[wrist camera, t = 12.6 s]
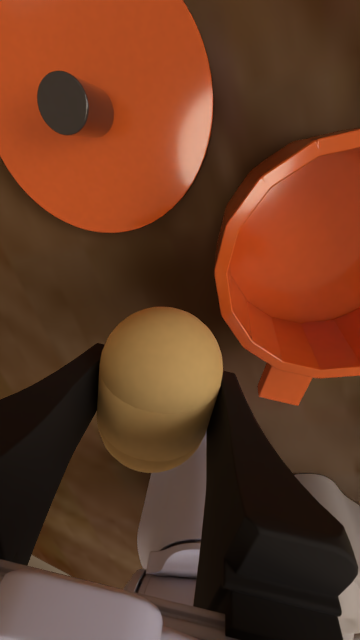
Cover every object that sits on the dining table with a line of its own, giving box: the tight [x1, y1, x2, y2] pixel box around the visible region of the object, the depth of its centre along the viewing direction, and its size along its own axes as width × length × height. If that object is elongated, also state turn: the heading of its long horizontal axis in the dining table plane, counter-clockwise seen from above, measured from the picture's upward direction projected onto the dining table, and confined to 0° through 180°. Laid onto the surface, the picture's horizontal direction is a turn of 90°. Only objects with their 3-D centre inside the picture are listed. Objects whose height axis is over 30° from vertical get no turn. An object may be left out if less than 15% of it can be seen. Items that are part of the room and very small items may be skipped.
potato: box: [97, 307, 223, 473], centre depth 12 cm, size 7×5×5 cm, turn 170°
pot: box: [214, 128, 360, 406], centre depth 16 cm, size 11×17×5 cm
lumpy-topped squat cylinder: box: [294, 474, 360, 640], centre depth 27 cm, size 10×13×9 cm
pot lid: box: [0, 0, 214, 233], centre depth 15 cm, size 12×12×4 cm
